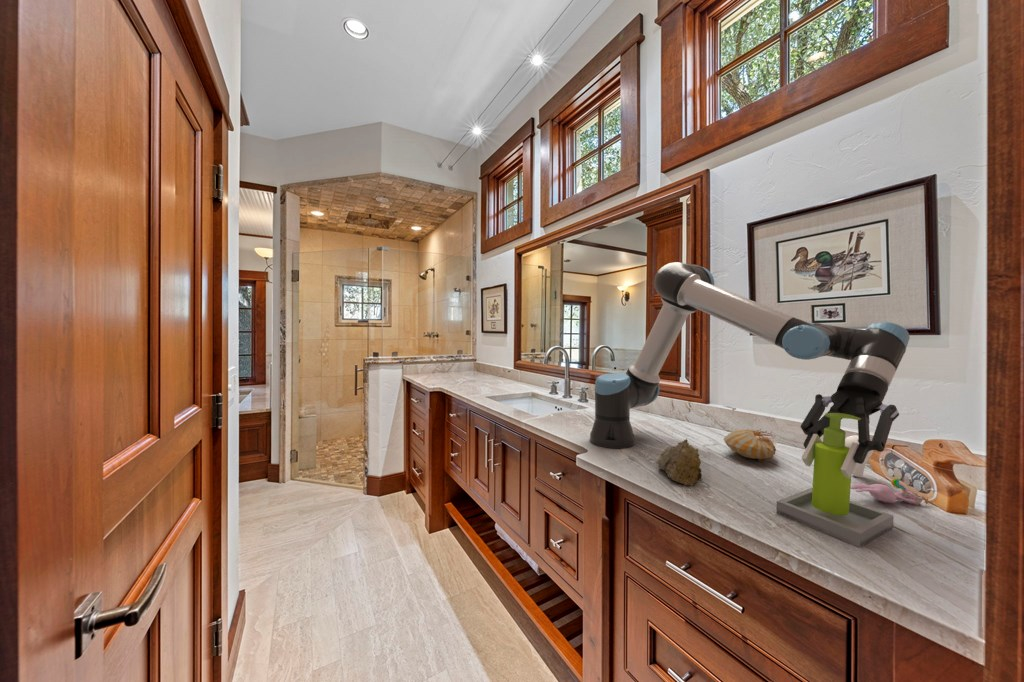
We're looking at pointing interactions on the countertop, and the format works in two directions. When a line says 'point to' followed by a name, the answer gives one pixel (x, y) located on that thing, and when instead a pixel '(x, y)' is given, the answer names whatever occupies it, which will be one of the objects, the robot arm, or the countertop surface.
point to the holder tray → (837, 519)
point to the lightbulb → (859, 467)
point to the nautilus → (750, 444)
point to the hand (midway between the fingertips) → (824, 467)
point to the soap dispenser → (831, 469)
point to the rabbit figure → (890, 493)
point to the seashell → (681, 463)
